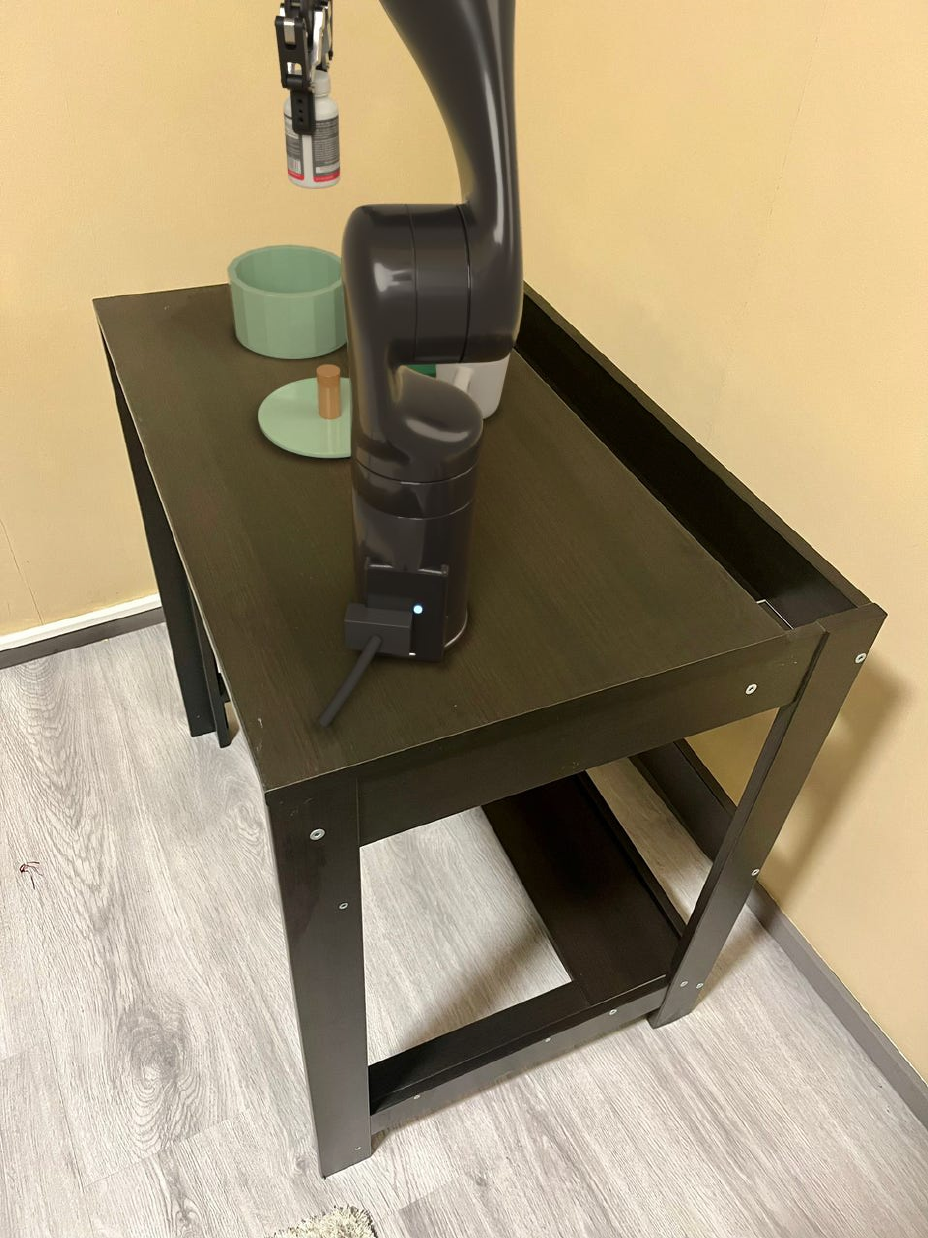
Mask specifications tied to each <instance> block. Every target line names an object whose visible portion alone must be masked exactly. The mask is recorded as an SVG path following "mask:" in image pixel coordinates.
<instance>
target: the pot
mask: <svg viewBox="0 0 928 1238" xmlns="http://www.w3.org/2000/svg"><path fill="white" fill-rule="evenodd" d="M226 272H227V279H228V280H227V281H228V290H229V297H230V307H231V315H232V322H233V328H234V332H235V337H236V338H237V340H238V342H239V343H240V344H241V345H242V346H243V347H244V348H246V349H247V350H250V351H252V352H254V353H256V354H259V355H262V356H265V357H270V358H275V359H282V360H283V359H284V360H285V359H286V360H300V359H301V360H302V359H311V358H316V357H320V356H324V355H328V354H330V353H332V352H333V353H334V352H335V351H336V350H339V349H340V348H341V347H343V346H344V345H345V344H347V338H346V327H345V316H344V305H343V295H342V277H341V256H338V255H337V254H336V253H335V252H332V251H329V250H325V249H322V248H319V247H315V246H308V245H298V244H278V245H277V244H276V245H266V246H262V247H259V248H254V249H251V250H250V249H249V250H246V251H244V252H242V253H241V254H239V255H238V256H236V257H234V258H233V259H232V260H231V261H230V263H229V265H228V266H227V268H226Z"/></svg>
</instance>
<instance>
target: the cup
mask: <svg viewBox="0 0 928 1238" xmlns="http://www.w3.org/2000/svg"><path fill="white" fill-rule="evenodd" d="M510 357H511V353H510V354H509V355H508V356H507V357H505V358H504V359H502V360H500V361H495V362H488V363H462V364H458V363H456V364H437V365H436V378H437V379H440V380H443V381H445V382H448V383H450V384H452V385H454V386H456V387H458V388H459V389H461V390H463V391H464V392H466V393H467V394H468V395H469V396H470V397H471V398H472V399H473V400H474V401H475V402H476V403H477V405H478V406H479V408H480V410H481V412H482V416H483V420H484V419H487V418H489V417H490V416H492V415H493V414H494V413H495V412H496V411H497V409H498V406H499V404H500V401H501V396H502V392H503V388H504V384H505V379H506V375H507V374H506V373H507V370H508V365H509V360H510Z"/></svg>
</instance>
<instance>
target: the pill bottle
mask: <svg viewBox="0 0 928 1238" xmlns="http://www.w3.org/2000/svg"><path fill="white" fill-rule="evenodd" d="M295 74H297V75H302V72H301V69H295ZM331 83H332V82H331V75H330V74H329V72H328V73H327V72H324V71H320V70H315V84H316V87H315V90H314V92H315V115H316V131H315V132H314V134H313V135H301V134H296V133H294V132H293V130H292V118H291V101H290V96H289V97H288V98H286V99H285V100H284V103H283V122H284V134H285V135H284V136H285V151H286V152H285V153H286V165H287V177H288V180H289V181H290V183H292V184H293V185H295V186H296V187H300V188H304V189H311V190H319V189H327V188H332V187H334V186H336V185H338V184H339V182H340V180H341V152H340V151H341V149H340V148H341V147H340V117H339V115H340V114H339V107H338V104H337V102H336V101H335V100H334V99H333V98H332V97H330V96H329V95H330V94H331V91H332V84H331Z"/></svg>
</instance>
